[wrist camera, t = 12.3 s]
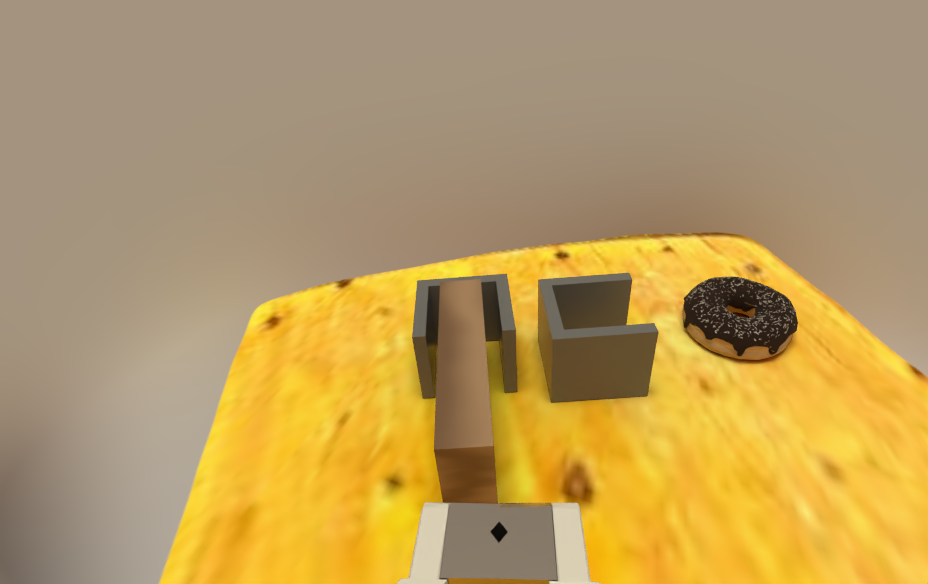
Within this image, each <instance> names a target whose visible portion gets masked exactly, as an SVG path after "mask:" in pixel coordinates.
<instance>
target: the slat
mask: <svg viewBox="0 0 928 584" xmlns="http://www.w3.org/2000/svg"><path fill="white" fill-rule="evenodd" d="M434 452H435V458H436V463H437V469H438V475H439V481H440V487H441V492H442V498H443V503H482V504H498V501H497V487H496V473H495V458H494V444H493V431H492V418H491V405H490V392H489V379H488V366H487V353H486V340H485V327H484V314H483V301H482V288H481V279H475V280H461V281H448V282H440V299H439V327H438V355H437V383H436V411H435V439H434Z"/></svg>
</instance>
